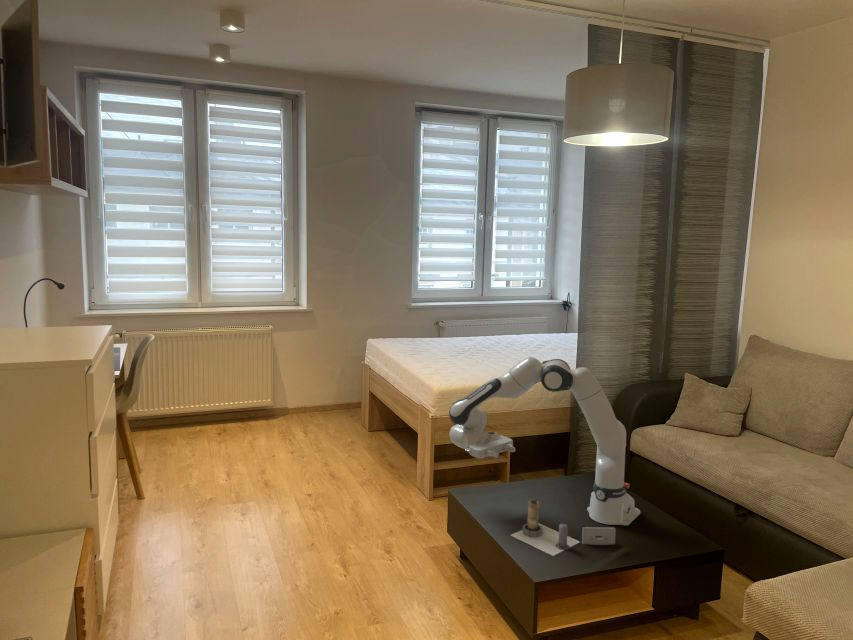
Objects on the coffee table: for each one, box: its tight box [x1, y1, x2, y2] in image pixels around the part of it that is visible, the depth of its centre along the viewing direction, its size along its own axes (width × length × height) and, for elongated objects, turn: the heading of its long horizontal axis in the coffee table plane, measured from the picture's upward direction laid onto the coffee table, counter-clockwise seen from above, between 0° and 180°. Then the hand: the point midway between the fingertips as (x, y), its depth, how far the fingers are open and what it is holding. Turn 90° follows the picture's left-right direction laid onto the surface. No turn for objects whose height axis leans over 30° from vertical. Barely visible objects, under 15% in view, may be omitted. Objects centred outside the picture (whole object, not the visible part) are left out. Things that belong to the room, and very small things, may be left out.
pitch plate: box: [510, 522, 581, 557], centre depth 239 cm, size 16×20×10 cm
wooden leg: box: [526, 498, 540, 531], centre depth 243 cm, size 4×4×13 cm
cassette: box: [581, 526, 617, 546], centre depth 236 cm, size 12×2×8 cm, turn 90°
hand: (506, 452), depth 254 cm, fingers open, 8 cm apart
